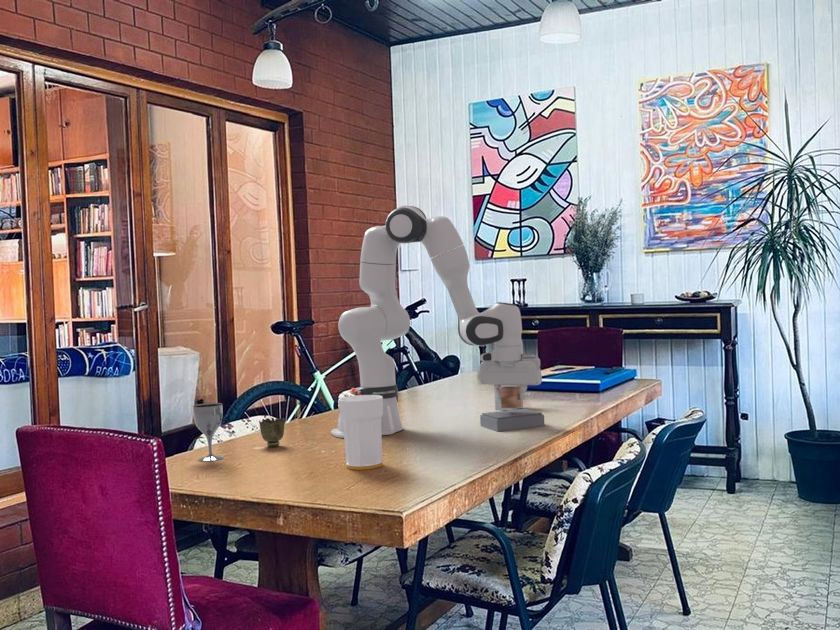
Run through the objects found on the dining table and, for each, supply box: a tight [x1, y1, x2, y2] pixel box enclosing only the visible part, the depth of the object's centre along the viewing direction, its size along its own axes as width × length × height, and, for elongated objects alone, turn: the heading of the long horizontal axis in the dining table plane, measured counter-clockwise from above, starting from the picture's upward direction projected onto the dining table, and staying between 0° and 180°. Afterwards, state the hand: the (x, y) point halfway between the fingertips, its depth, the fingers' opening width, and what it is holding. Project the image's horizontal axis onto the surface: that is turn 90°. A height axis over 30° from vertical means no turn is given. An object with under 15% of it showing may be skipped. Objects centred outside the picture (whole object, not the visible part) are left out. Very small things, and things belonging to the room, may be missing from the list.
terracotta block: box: [500, 386, 522, 408], centre depth 266 cm, size 5×5×6 cm
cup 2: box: [338, 395, 383, 471], centre depth 218 cm, size 11×11×17 cm
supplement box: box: [493, 385, 524, 411], centre depth 301 cm, size 7×7×13 cm
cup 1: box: [258, 417, 286, 448], centre depth 252 cm, size 8×7×8 cm
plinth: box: [479, 408, 546, 432], centre depth 266 cm, size 16×12×4 cm
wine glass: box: [192, 402, 225, 463], centre depth 238 cm, size 8×8×15 cm
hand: (511, 399), depth 266 cm, fingers closed on terracotta block, 5 cm apart
